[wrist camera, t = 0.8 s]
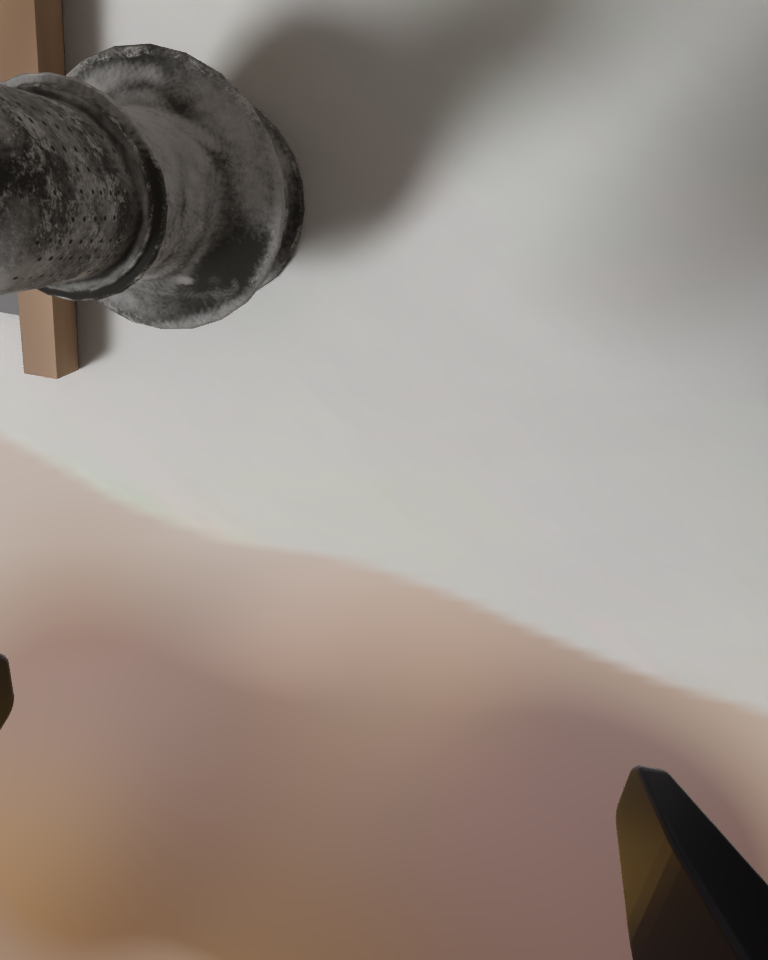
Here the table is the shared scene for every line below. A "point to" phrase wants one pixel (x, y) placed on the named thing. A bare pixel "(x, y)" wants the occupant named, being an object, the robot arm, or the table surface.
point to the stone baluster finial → (143, 188)
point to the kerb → (43, 318)
